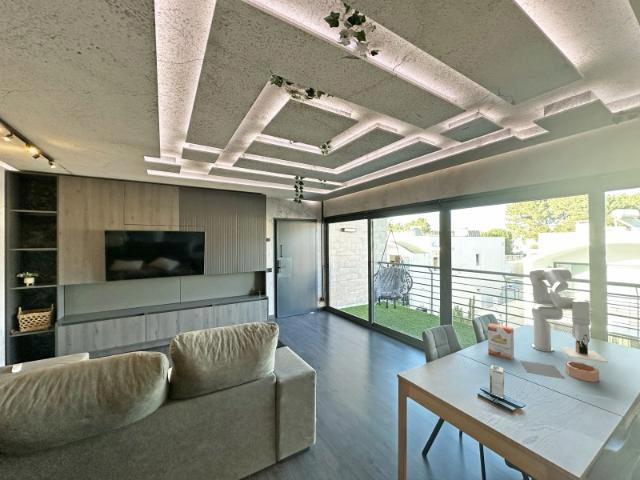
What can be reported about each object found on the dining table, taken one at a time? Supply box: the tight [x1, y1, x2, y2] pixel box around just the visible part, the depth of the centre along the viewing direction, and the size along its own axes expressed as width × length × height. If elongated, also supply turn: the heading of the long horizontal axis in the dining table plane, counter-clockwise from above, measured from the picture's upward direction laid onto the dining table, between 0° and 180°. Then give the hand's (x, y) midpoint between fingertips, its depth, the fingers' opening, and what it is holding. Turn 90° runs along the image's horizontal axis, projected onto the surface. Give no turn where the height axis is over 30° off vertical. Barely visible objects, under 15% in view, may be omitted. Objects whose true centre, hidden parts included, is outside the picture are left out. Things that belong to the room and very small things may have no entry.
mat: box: [519, 359, 566, 380], centre depth 162 cm, size 18×18×1 cm
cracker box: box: [487, 323, 515, 360], centre depth 182 cm, size 14×6×21 cm, turn 37°
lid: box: [558, 341, 609, 364], centre depth 153 cm, size 16×16×7 cm
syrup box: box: [489, 364, 505, 398], centre depth 136 cm, size 6×6×14 cm
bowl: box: [565, 360, 600, 383], centre depth 153 cm, size 13×13×6 cm
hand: (581, 351), depth 153 cm, fingers closed on lid, 4 cm apart
